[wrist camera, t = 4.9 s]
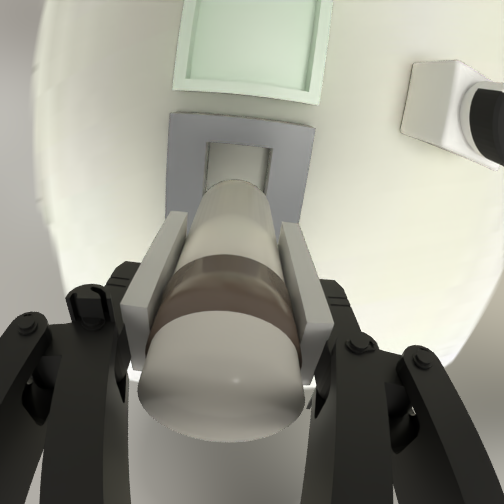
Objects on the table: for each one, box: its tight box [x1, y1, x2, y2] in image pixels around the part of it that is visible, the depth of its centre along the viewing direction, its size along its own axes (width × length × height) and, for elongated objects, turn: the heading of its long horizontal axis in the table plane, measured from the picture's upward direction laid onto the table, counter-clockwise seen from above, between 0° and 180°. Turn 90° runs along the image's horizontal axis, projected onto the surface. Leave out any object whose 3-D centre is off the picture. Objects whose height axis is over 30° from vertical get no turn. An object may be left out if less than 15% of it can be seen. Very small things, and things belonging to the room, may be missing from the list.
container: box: [400, 60, 504, 171], centre depth 19 cm, size 8×8×13 cm
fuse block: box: [165, 112, 316, 245], centre depth 29 cm, size 18×12×2 cm, turn 173°
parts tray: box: [172, 0, 333, 106], centre depth 20 cm, size 14×12×2 cm
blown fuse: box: [138, 180, 305, 442], centre depth 12 cm, size 4×4×12 cm
